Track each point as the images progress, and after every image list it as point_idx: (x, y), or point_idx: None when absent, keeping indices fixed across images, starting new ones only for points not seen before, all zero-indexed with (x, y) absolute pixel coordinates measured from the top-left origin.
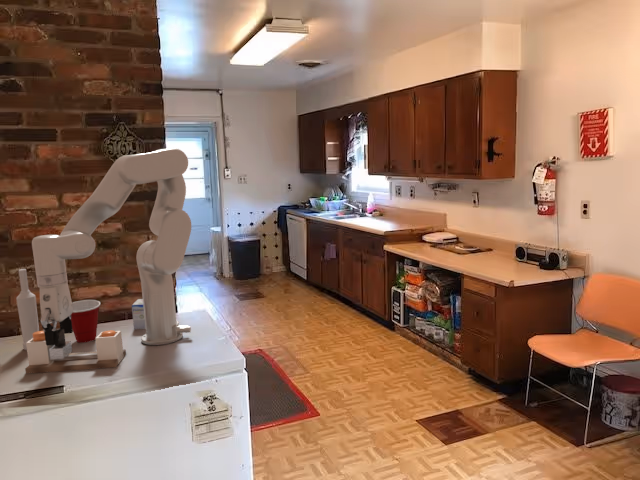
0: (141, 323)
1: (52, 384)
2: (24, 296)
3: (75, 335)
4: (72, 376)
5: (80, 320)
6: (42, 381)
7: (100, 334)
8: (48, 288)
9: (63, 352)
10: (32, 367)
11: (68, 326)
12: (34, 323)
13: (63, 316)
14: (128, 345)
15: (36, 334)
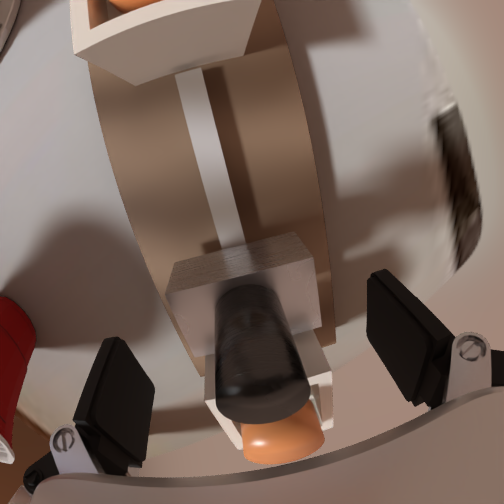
0: None
1: (427, 167)
2: None
3: (29, 359)
4: (368, 123)
5: None
6: (403, 223)
7: (149, 9)
8: None
9: (297, 246)
10: (330, 326)
11: (116, 388)
12: None
13: (441, 468)
14: (4, 109)
15: (318, 442)
